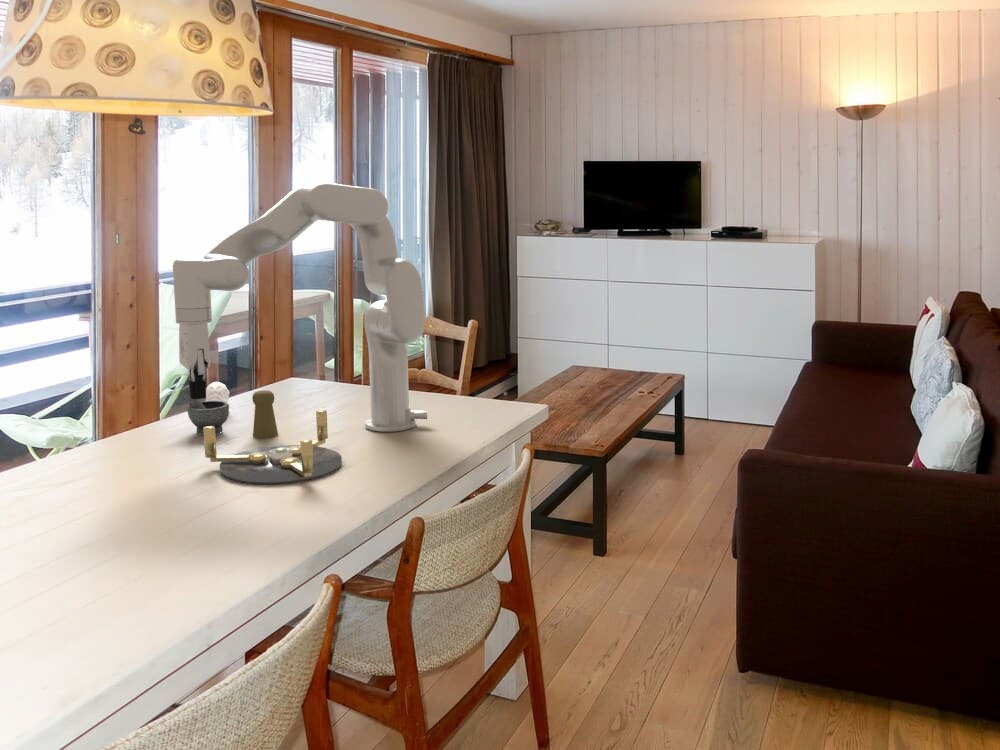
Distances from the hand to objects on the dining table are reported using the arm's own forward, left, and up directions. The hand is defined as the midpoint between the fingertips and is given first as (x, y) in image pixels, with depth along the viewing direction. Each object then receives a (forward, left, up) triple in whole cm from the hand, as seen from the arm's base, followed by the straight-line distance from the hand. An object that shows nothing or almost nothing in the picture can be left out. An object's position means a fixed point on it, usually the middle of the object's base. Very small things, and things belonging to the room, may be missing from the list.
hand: (198, 397), depth 224 cm
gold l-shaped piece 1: (-9, +6, -13) cm, 17 cm away
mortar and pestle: (+5, -25, -15) cm, 29 cm away
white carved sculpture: (+6, -41, -15) cm, 44 cm away
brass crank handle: (-23, +14, -13) cm, 30 cm away
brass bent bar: (-23, -2, -13) cm, 27 cm away
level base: (-18, +6, -14) cm, 24 cm away
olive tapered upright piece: (-10, -21, -15) cm, 28 cm away
